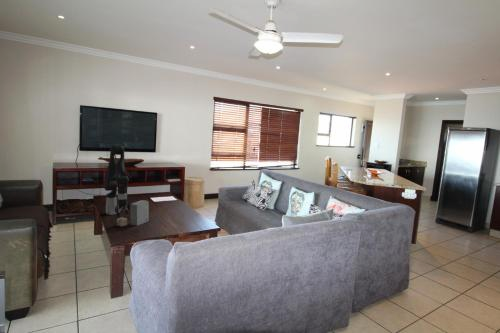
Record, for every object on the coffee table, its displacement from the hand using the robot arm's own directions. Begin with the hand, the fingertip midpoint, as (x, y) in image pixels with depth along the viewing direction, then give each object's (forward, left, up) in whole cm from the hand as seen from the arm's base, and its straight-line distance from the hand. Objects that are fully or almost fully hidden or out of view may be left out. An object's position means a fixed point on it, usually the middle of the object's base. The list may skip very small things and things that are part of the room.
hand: (122, 215), depth 259 cm
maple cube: (0, 0, -9) cm, 9 cm away
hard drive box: (+8, +13, -9) cm, 18 cm away
